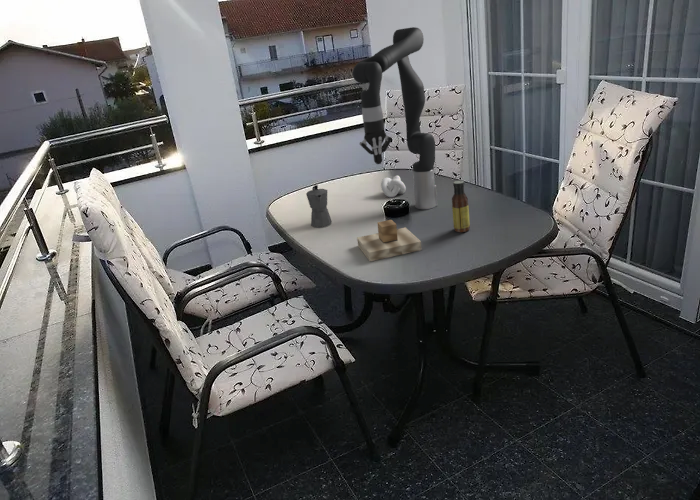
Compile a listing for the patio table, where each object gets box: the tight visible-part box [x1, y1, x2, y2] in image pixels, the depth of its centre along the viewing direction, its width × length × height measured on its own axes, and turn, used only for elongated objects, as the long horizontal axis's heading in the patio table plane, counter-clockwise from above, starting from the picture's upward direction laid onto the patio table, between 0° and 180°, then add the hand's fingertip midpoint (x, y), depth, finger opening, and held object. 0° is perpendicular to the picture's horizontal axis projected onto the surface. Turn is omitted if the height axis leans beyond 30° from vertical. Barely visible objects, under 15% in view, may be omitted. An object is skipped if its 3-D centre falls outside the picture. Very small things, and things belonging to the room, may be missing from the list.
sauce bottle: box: [451, 180, 471, 233], centre depth 193 cm, size 7×6×20 cm
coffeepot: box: [305, 184, 333, 229], centre depth 219 cm, size 15×9×18 cm, turn 13°
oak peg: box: [376, 219, 398, 243], centre depth 187 cm, size 6×6×10 cm
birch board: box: [356, 226, 422, 262], centre depth 189 cm, size 20×16×4 cm
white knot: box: [380, 175, 407, 198], centre depth 246 cm, size 11×12×9 cm
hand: (378, 163), depth 193 cm, fingers closed
